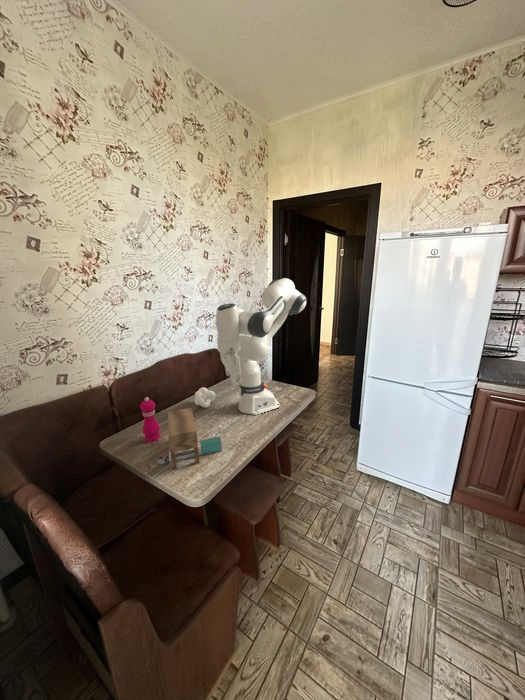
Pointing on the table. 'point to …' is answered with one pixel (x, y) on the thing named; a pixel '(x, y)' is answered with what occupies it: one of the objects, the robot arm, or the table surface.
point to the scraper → (206, 448)
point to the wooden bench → (182, 433)
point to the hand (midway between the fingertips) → (230, 378)
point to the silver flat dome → (163, 460)
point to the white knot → (204, 397)
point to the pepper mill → (150, 421)
